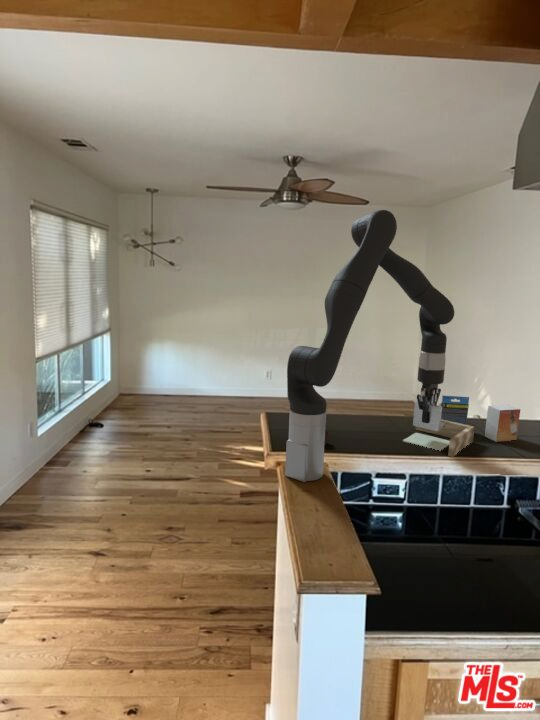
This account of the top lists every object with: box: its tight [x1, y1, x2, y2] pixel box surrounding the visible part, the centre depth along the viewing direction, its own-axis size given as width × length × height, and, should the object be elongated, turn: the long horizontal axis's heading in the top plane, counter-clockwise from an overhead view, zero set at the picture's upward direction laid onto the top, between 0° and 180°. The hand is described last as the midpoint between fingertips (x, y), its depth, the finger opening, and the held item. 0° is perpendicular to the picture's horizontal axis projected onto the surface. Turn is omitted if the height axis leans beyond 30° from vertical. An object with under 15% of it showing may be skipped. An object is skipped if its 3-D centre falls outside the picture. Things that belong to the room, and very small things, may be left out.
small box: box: [484, 404, 521, 443], centre depth 162 cm, size 8×6×10 cm
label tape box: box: [437, 394, 470, 425], centre depth 169 cm, size 9×4×12 cm, turn 85°
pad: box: [402, 432, 450, 452], centre depth 157 cm, size 10×12×1 cm
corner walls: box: [414, 419, 475, 458], centre depth 157 cm, size 17×18×5 cm
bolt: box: [324, 428, 330, 445], centre depth 159 cm, size 6×5×15 cm
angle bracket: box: [412, 401, 446, 431], centre depth 156 cm, size 8×6×8 cm
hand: (426, 421), depth 154 cm, fingers closed on angle bracket, 1 cm apart
